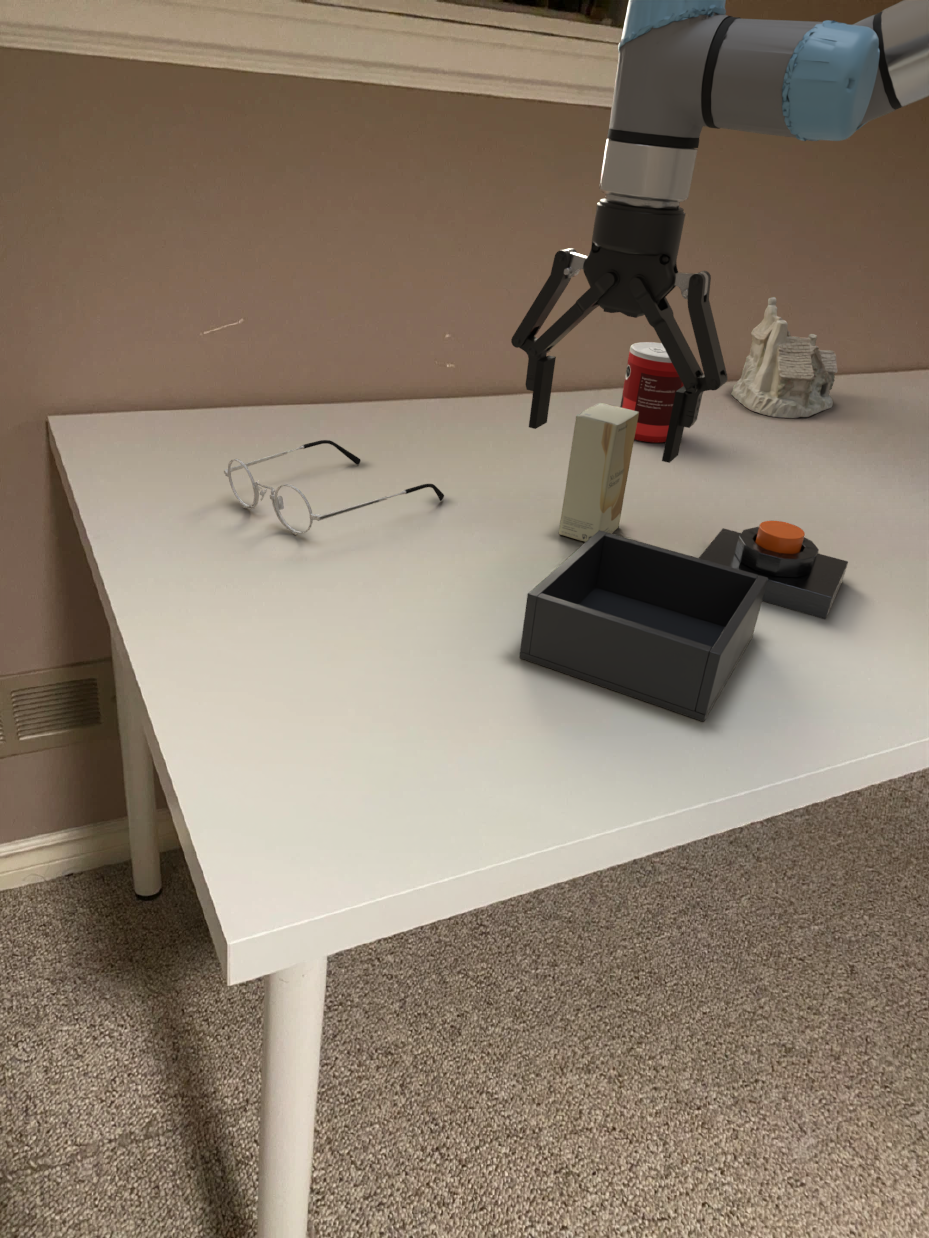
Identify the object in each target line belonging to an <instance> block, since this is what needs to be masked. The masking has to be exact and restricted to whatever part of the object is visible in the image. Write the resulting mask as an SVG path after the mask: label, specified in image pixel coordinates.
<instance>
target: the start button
mask: <svg viewBox="0 0 929 1238" xmlns="http://www.w3.org/2000/svg"><path fill="white" fill-rule="evenodd" d="M758 527H759V530H758V534H757V537H756V541H755V543H756V544H757V545H759V546H761V547H762V548H764V549H766V550H770V551H774V552H778V553H785V554H795V553H799V552H800V550H801V546H802V543H803V539H804V537H805V536H806V533H805V531H804V529H802V528H801V527H799V526H797V525H795V524H792V523H789V522H785V521H781V520H765V521H762V522H761V523H759V526H758Z"/></svg>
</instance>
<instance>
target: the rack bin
mask: <svg viewBox="0 0 929 1238" xmlns="http://www.w3.org/2000/svg"><path fill="white" fill-rule="evenodd" d="M767 581H768V578H767V577H763V576H760V575H759V576H758V575H757V574H753V573H750V572H746V571H743V570H739V569H735V568H732V567H728V566H725V565H721V564H718V563H714V562H710V561H707V560H703V559H700V558H699V557H696V556H692V555H689V554H685V553H681V552H678V551H675V550H671V549H668V548H664V547H660V546H657V545H653V544H650V543H646V542H643V541H640V540H635V539H631V538H628V537H624V536H621V535H617V534H615V533H612V534H611V533H607V532H604V531H600V530H599V531H598V532H597V533H595V534H594V535H593V536H592V537H591V538H590V539H589V540H588V541H586V542H584V543H583V544H582V545H581V546H579V547H578V548H577V549H576V550H575V551H574V552H573V553H572V554H570V555H569V556H568V557H567V558H566V559H565V560H563V562H561V563H560V564H559V565H558V566H557V567H556V568H555V569H553V570H552V571H551V572H550V573H549V574H548V575H547V576H545V578H544V579H542V580H541V581H540V582H539V583H538V584H536V586H535V587H534V588H532V589H531V590H530V591H529V592H528V593H527V595H526V603H525V611H524V617H523V618H524V619H523V626H522V633H521V641H520V649H519V659H522V660H525V661H528V662H531V663H534V664H537V665H539V666H542V667H545V668H548V669H550V670H554V671H556V672H559V673H562V674H565V675H568V676H570V677H574V678H575V679H576V678H577V679H579V680H582V681H585V682H589V683H591V684H594V685H597V686H599V687H603V688H605V689H608V690H611V691H614V692H616V693H620V694H622V695H625V696H628V697H631V698H634V699H636V700H639V701H643V702H646V703H648V704H651V705H654V706H656V707H660V708H663V709H666V710H668V711H672V712H673V713H674V712H675V713H677V714H680V715H682V716H686V717H688V718H691V719H695V720H697V721H700V722H703V723H704V722H705V720H706V719H707V718H708V715H709V713H710V712H711V710H712V708H713V707H714V705H715V703H716V701H717V700H718V698H719V696H720V694H722V691H723V690H724V687H725V686H726V684H727V682H728V680H729V679H730V677H731V675H732V674H733V672H734V670H735V668H736V666H737V665H738V663H739V662H740V660H741V658H742V656H743V654H744V653H745V651H746V649H747V647H748V646H749V644H750V642H751V640H752V639H753V637H754V632H755V628H756V625H757V621H758V618H759V614H760V611H761V607H762V602H763V601H762V599H763V596H764V592H765V588H766V585H767Z"/></svg>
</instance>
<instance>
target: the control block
mask: <svg viewBox="0 0 929 1238" xmlns="http://www.w3.org/2000/svg"><path fill="white" fill-rule="evenodd" d="M758 530H759V526H755V527H750V528H746V529H743V530H742V531H741V532H740V531H739V532H738V531H735V530H731V529H727V528H722V529H721V530H720V531H719V532H718V533H717V535H716V536H715V537H714V538H713V540H712V541H711V542H710V543H709V544H708V546H707V547H706V548H705V550H704V551H703V552H702V553H701V554H700V556H699V557H698V558H700V559H703V560H707V561H710V562H714V563H718V564H721V565H725V566H728V567H732V568H735V569H739V570H743V571H746V572H750V573H753V574H757V575H758V576H759V575H760V576H763V577H767V578H768V581H767V585H766V588H765V592H764V596H763V599H762V602H763V603H767V604H771V605H774V606H776V607H777V606H778V607H781V608H785V609H789V610H791V611H795V612H798V613H801V614H806V615H808V616H812V617H816V618H819V619H821V620H826V619H827V617H828V615H829V612H830V610H831V608H832V605H833V604H834V601H835V599H836V597H837V594H838V592H839V590H840V588H841V585H842V583H843V580H844V577H845V574H846V571H847V568H848V564H849V561H848V560H844V559H840V558H836V557H832V556H830V555H825V554H822V553H819V548H818V546H817V545H816V544H815V543H814V542H813V541H812V540H811V539H808V538H806V537H805V536H804V539H803V543H802V546H801V550H800V552H799V553H795V554H785V553H778V552H774V551H770V550H766V549H764V548H762V547H761V546H759V545H757V544H756V543H755V541H756V537H757V534H758Z"/></svg>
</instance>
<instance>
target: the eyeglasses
mask: <svg viewBox="0 0 929 1238" xmlns="http://www.w3.org/2000/svg"><path fill="white" fill-rule="evenodd" d="M324 444H326V445H327V444H328V445H331V446H333V447H334V448H336V450H338V451H339V452H340V453H342V455H344V456H345V457H346V458H348V459H349V460H350V461H351V462H352V463H354V464H355V465H360V463H361V458H360V457H358V456H356V455H355V454H353V453H352V452H350V451H349V450H347V449H345V448H344V447H342V446H341V445H340V444H338V443H336V442H334V441H333V440H329V439H322V440H321V439H320V440H316V441H313V442H308V443H305V444H302V445H300V446H299V447H296V448H294V449H290V450H285V451H281V452H278V453H275V454H272V455H268V456H265V457H262V458H258V459H255V460H252V461H249V462H245V463H244V462H243V461H242V460H241V459H239V458H234V459H231V460H230V461H229V463H228V465H227V468H225V469H223V474H224V475H225V477H228V482H229V485H230V487H231V490H232V492H233V495H234V496H235V498H236V499H237V500H238V502H239V503H240V504H241V505H242V508H243V509H247V510H255V509H256V508H257V506H258V504H259V500H260V502H262V501H263V500H264V497H265V495H266V493H267V490H270V494H269V499H270V500H271V505H272V507H273V510H274V512H275V515H276V517H277V519H278V520H279V521H280V523H281V524H282V526H283V527H284V528H285V529H286V530H288V531H289V532H291V533H292V534H293V535H295V536H298V535H299V534H300V535H302V534H306V533H308V532H309V531H310V530H311V529H312V526H313V524H314V523H313V522H314V521H318V522H319V521H322V520H327V519H329V518H330V519H331V518H333V517H335V516H336V517H337V516H339V515H342V514H345V513H348V512H352V511H356V510H358V509H361V508H365V507H368V506H371V505H374V504H377V503H381V502H383V501H387V500H388V499H390V498H393V497H394V498H395V497H397V496H400V495H401V496H402V495H408V494H411V493H414V492H417V491H420V490H423V489H427V488H430V489H433V492H434V493H435V494H436V496H437V498H438V500H439V501H440V502H442V501H443V499H444V498H445V494H444V493H443V492H442V491H441V490H440V489H439V488H438V487H437V486H436V485H435V484H433V483H424V484H423V483H422V484H420V485H415V486H413V487H409V488H406V489H404V490H402V491H400V492H398V493H395V494H393V495H389V496H383V497H379V498H376V499H373V500H368V501H366V502H363V503H359V504H355V505H352V506H348V507H345V508H341V509H339V510H335V511H331V512H328V513H325V514H317V513H313V509H312V506H311V505H310V502H309V500H308V499H307V497H306V496H305V494H304V493H303V491H301V490H300V489H299V488H298V487H296V486H294V485H293V484H289V483H285V484H282V485H280V486H278V487H277V488H276V490H275V488H274V487H271V486H267V485H265V484H262V483H261V482H260V481H259V480H256V481H255V479H254V476H253V474H252V472H251V471H250V469H249V467H250V466H254V465H257V464H260V463H263V462H266V461H269V460H273V459H276V458H279V457H281V456H285V455H287V454H288V453H291V452H295V451H298V450H305V449H309V448H312V447H315V446H320V445H324ZM234 461H235V462H237V463H239V464H238V465H235V466H232V464H233V462H234ZM242 469H244V470H245V471H246V473H247V476H248V477H249V479H250V482H251V485H252V489H253V502H252V504H251V505H249V504H247V503H245V502H244V501H243V500H242V498H241V497H240V496H239V494H238V492H237V490H236V488H235V486H234V481H233V477H232V472H235V471H238V470H242ZM282 487H288V488H291V489H293V490H294V491H295V492H297V493H298V494H299V495H300V496H301V498H302V499H303V501H304V503H305V505H306V508H307V509H308V513H309V514H308V515H309V524H308V528H307V529H306V530H304V531H299V530H297V529H295V528H293V526H291V525H289V523H288V522H287V521H286V520H285V518H284V516H283V515H282V513H281V510H284V508H285V507H284V498H283V496H282V495H278V494H279V491H280V489H281V488H282ZM263 488H264V490H263ZM260 490H261V491H260ZM260 496H261V498H260ZM259 498H260V499H259Z"/></svg>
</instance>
